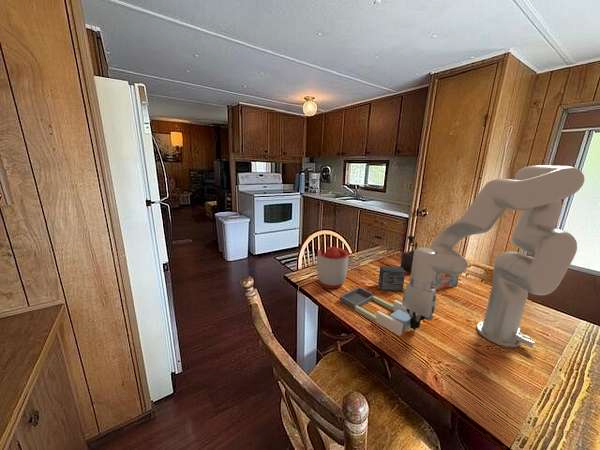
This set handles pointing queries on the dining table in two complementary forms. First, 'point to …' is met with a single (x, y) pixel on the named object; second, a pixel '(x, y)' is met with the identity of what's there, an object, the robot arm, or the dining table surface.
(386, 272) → the small box
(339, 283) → the citrus juicer
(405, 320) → the block
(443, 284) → the stack of blocks
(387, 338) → the dining table surface
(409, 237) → the black upright piece
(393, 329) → the two-pronged grey tray
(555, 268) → the robot arm
